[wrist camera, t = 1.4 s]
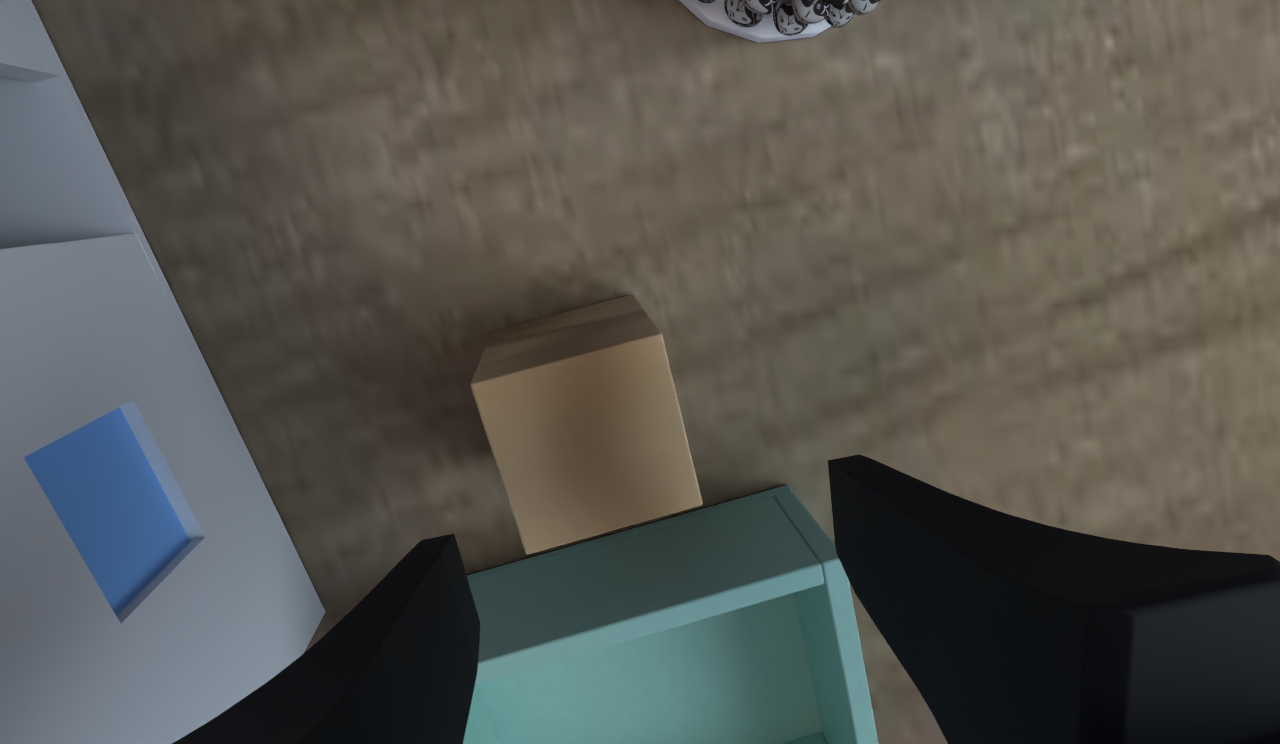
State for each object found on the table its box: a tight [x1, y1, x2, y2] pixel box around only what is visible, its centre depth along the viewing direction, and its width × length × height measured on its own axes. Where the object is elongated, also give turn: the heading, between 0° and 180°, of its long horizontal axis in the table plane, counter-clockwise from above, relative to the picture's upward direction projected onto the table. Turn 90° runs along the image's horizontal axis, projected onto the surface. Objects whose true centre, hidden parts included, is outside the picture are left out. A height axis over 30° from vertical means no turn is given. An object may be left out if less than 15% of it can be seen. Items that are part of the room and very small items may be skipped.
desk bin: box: [463, 485, 878, 744], centre depth 23 cm, size 13×11×5 cm
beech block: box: [471, 295, 703, 554], centre depth 20 cm, size 5×5×6 cm
